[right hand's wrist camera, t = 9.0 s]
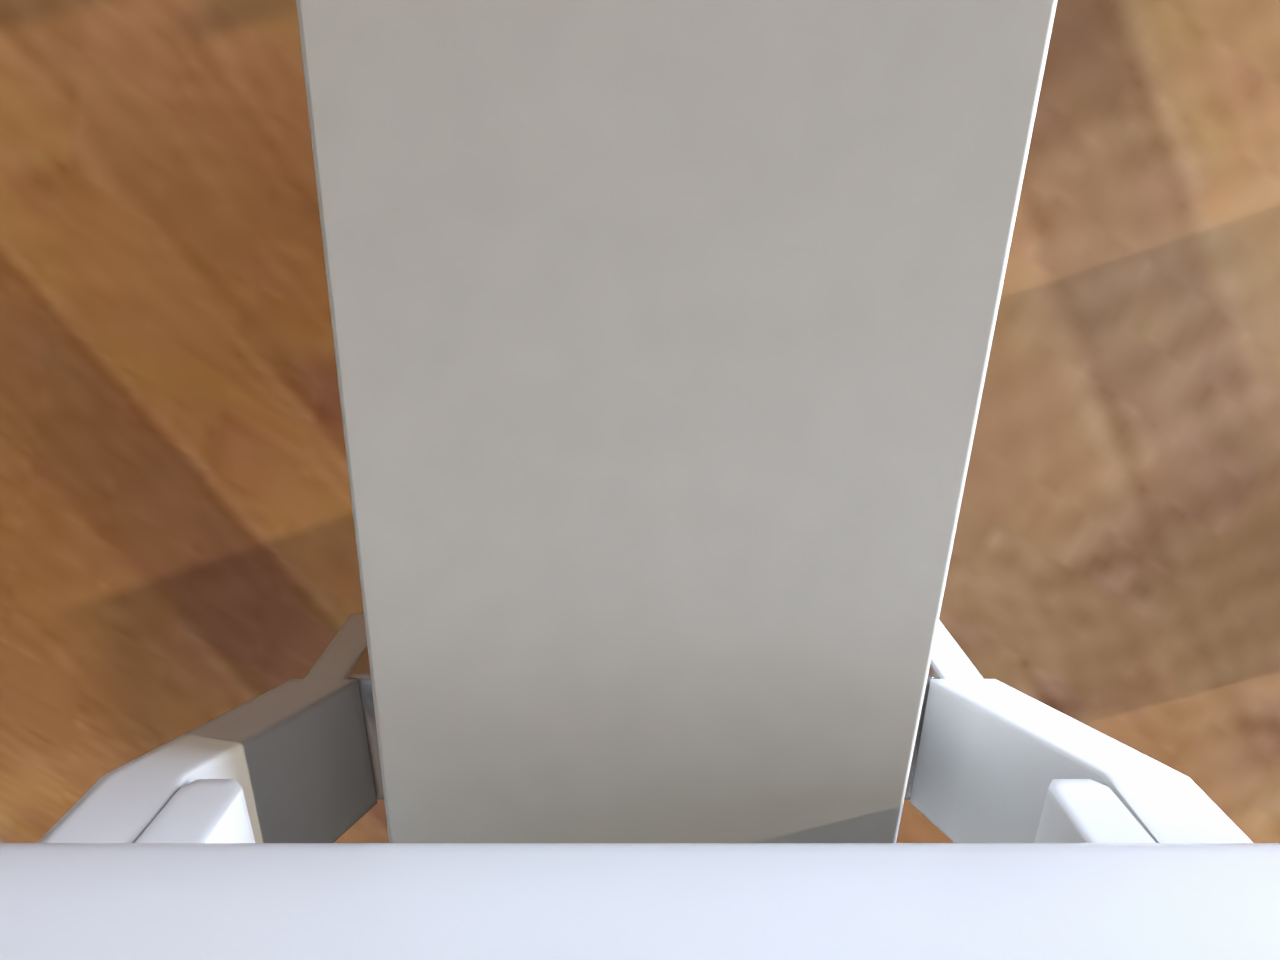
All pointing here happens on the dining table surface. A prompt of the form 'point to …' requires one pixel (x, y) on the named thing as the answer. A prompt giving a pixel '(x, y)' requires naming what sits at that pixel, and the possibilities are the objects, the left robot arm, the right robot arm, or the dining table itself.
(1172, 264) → the dining table surface
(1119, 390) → the dining table surface
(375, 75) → the post
